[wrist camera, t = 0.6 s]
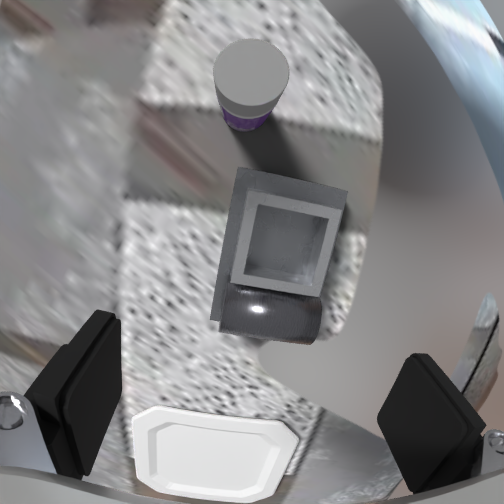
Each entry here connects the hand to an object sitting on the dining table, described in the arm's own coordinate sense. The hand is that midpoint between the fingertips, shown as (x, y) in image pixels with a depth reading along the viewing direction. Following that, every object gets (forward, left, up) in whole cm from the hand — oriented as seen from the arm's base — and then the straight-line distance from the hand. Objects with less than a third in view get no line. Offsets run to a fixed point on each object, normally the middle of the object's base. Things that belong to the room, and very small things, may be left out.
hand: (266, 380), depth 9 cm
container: (-12, -2, -26) cm, 29 cm away
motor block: (+2, +4, -26) cm, 26 cm away
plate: (+38, +2, -27) cm, 47 cm away
